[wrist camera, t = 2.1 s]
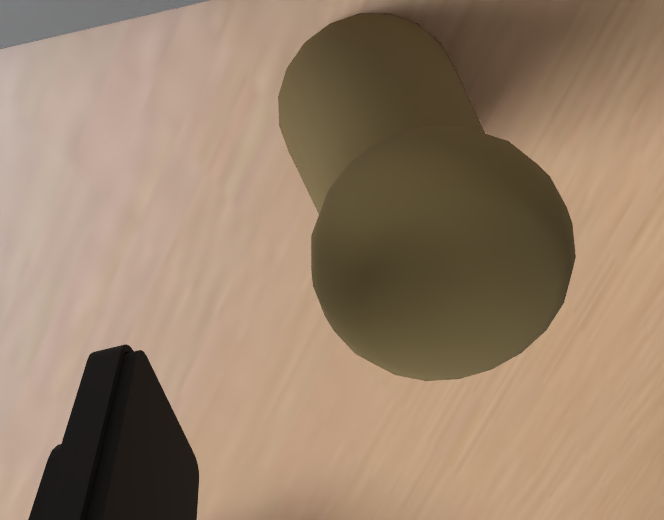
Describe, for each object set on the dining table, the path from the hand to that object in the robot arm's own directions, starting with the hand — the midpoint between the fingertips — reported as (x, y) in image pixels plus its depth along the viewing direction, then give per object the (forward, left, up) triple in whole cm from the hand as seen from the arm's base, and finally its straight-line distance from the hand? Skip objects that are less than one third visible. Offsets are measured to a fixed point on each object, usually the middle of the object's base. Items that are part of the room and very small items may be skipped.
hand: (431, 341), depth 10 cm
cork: (-1, 0, -12) cm, 12 cm away
